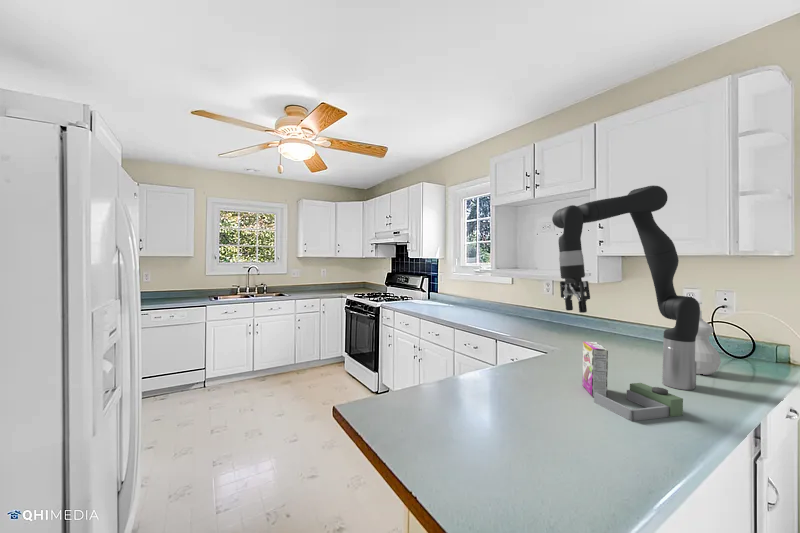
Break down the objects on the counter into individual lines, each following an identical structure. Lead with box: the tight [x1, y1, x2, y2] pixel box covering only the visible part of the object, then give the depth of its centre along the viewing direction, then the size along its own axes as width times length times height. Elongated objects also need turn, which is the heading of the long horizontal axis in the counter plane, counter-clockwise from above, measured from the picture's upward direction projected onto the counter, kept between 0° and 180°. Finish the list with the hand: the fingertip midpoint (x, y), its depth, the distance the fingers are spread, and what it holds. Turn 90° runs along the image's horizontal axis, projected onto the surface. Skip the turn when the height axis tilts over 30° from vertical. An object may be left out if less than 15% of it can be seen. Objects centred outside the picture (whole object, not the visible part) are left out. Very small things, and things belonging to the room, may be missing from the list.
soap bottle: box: [695, 301, 722, 376], centre depth 147 cm, size 17×12×29 cm
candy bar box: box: [581, 341, 609, 398], centre depth 122 cm, size 11×5×16 cm, turn 168°
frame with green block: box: [593, 382, 684, 422], centre depth 109 cm, size 19×14×6 cm
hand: (576, 311), depth 121 cm, fingers open, 8 cm apart
